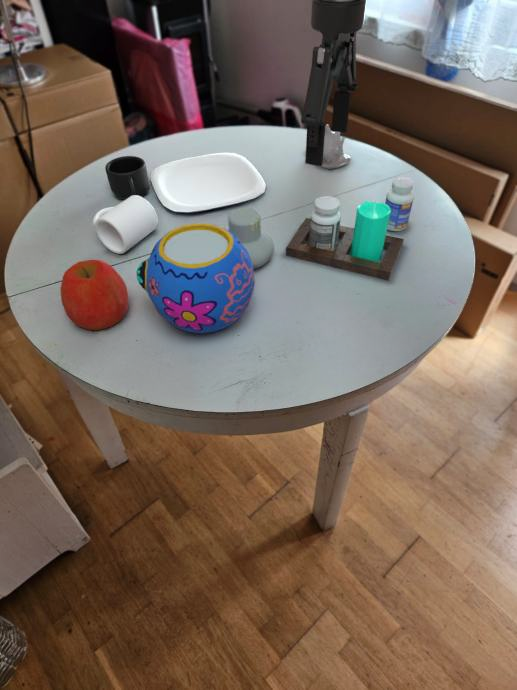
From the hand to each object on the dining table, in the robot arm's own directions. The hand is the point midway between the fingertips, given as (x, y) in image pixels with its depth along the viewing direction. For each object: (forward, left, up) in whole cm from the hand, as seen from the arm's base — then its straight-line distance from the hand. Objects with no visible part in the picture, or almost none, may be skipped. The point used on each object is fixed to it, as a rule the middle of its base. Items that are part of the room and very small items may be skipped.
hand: (327, 146), depth 81 cm
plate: (+33, -13, -21) cm, 41 cm away
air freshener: (+12, +10, -21) cm, 26 cm away
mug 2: (+39, +13, -21) cm, 46 cm away
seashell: (+11, -36, -21) cm, 43 cm away
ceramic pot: (+12, +27, -21) cm, 36 cm away
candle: (-10, 0, -21) cm, 23 cm away
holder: (-5, 0, -20) cm, 21 cm away
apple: (+29, +34, -21) cm, 49 cm away
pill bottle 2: (-12, -13, -21) cm, 27 cm away
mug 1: (+47, -2, -21) cm, 51 cm away
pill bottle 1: (-1, 0, -21) cm, 21 cm away
